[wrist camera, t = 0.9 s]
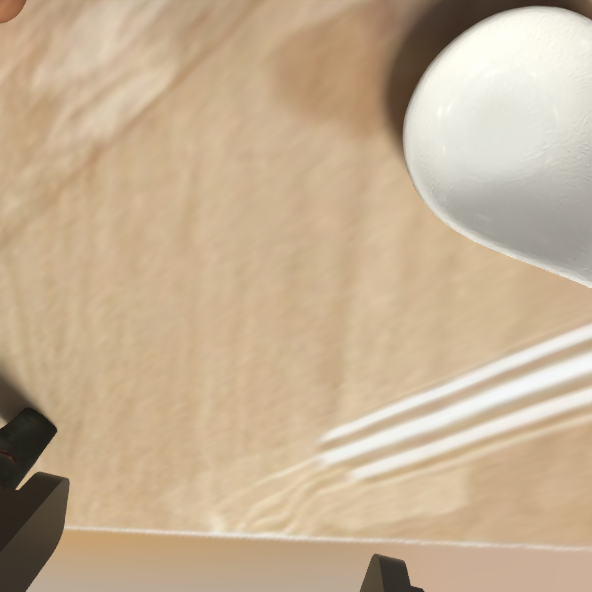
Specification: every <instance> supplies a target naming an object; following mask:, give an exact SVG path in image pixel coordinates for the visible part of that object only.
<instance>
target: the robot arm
mask: <svg viewBox="0 0 592 592" xmlns="http://www.w3.org/2000/svg"><path fill="white" fill-rule="evenodd" d="M69 484H70V483H69V479H68V478H64V477H60V476H56V475H52V474H48V473H44V472H37V473H35V474H34V475H33V476H32V477H31V478H30V479H29V480H28V481H27V482H26V483H25V484H24V485H23V486H22V487H21V488H20V489H19V490H15V489H11V488H6V489H4V490H3V491H1V492H0V592H26V590H27V589H28V587H29V586H30V585H31V583H32V582H33V580H34V579H35V577H36V576H37V575H38V573H39V572H40V570H41V569H42V568H43V566H44V565H45V564H46V562H47V561H48V559H49V558H50V557H51V555H52V554H53V552H54V550H55V549H56V547H57V545H58V543H59V540H60V538H61V535H62V532H63V529H64V523H65V515H66V508H67V500H68V493H69ZM360 592H424V591H423V589H421V588H417V587H413V586H411V585H410V580H409V576H408V572H407V567H406V564H405V562H404V561H403V560H400V559H396V558H391V557H387V556H383V555H379V554H374V555H373V557H372V559H371V561H370V564H369V567H368V570H367V572H366V575H365V578H364V581H363V584H362V586H361V589H360Z"/></svg>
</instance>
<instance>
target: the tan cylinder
mask: <svg viewBox="0 0 592 592" xmlns="http://www.w3.org/2000/svg"><path fill="white" fill-rule="evenodd" d="M25 2H26V0H0V23H4V22H7V21H10V20H11V19H13V18H14V17H16V16H17V15H18V14H19V13H20V11H21V10H22V8H23V7H24V5H25Z"/></svg>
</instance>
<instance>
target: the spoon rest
mask: <svg viewBox="0 0 592 592" xmlns="http://www.w3.org/2000/svg"><path fill="white" fill-rule="evenodd" d="M403 151H404V157H405V162H406V166H407V169H408V173H409V175H410V178H411V180H412V182H413V185H414V187H415V189H416V191H417V192H418V194H419V196H420V197H421V199H422V200H423V202H424V203H425V204H426V206H427V207H428V208H429V209H430V210H431V211H432V212H433V213H434V214H435V215H436V216H437V217H438V218H439V219H440V220H441V221H443V222H444V223H445V224H447V225H448V226H449V227H451V228H452V229H454V230H455V231H457V232H458V233H460V234H462V235H463V236H465V237H467V238H469V239H470V240H472V241H474V242H476V243H478V244H480V245H482V246H484V247H487V248H489V249H492V250H494V251H497V252H499V253H502V254H504V255H507V256H509V257H512V258H514V259H517V260H520V261H523V262H526V263H528V264H531V265H534V266H536V267H539V268H542V269H544V270H546V271H549V272H552V273H555V274H557V275H560V276H562V277H565V278H567V279H570V280H572V281H574V282H577V283H579V284H582V285H584V286H587V287H589V288H591V289H592V20H591V19H589V18H587V17H585V16H583V15H581V14H579V13H576V12H573V11H570V10H567V9H563V8H559V7H549V6H529V7H521V8H515V9H511V10H507V11H503V12H500V13H497V14H494V15H492V16H490V17H488V18H486V19H484V20H482V21H480V22H478V23H477V24H475V25H473V26H472V27H470V28H469V29H467V30H466V31H464V32H463V33H462V34H460V35H459V36H458V37H457V38H455V39H454V40H453V41H452V42H451V43H449V44H448V45H447V46H446V47H445V48H444V49H443V50H442V51H441V52H440V53H439V54H438V55H437V56H436V58H435V59H434V60H433V61H432V62H431V63H430V65H429V66H428V68H427V69H426V71H425V72H424V74H423V75H422V77H421V78H420V80H419V82H418V84H417V86H416V88H415V90H414V92H413V94H412V97H411V99H410V102H409V104H408V107H407V110H406V113H405V118H404V124H403Z"/></svg>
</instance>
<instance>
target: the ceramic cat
mask: <svg viewBox="0 0 592 592" xmlns="http://www.w3.org/2000/svg"><path fill="white" fill-rule="evenodd" d="M56 433H57V429H56V428H55V427H54V426H53V425H52V424H51V423H50V422H49V421H48V420H47V419H46V418H45V417H43V416H42V415H41V414H39V413H38V412H37V411H35V410H32V409H30V408H26V409H24V410H23V411H22V412H21V413H20V414H19V415H18V416H17V417H15V418H14V419H13V420H12V421H10V422H9V423H8V424H7V425H5V426H4V427H2V428H1V429H0V492H1V491H3V490H4V489H6V488H11V489H16V488H17V486H18V485H19V484H20V482H21V481H22V480H23V478H24V477H25V475H26V474H27V473H28V471H29V470H30V469H31V467H32V466H33V465H34V464H35V462H36V461H37V459H38V458H39V456H40V455H41V453H42V452H43V451H44V449H45V448H46V446H47V445H48V444H49V442H50V441H51V440H52V438H53V437H54V436H55V434H56Z"/></svg>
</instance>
